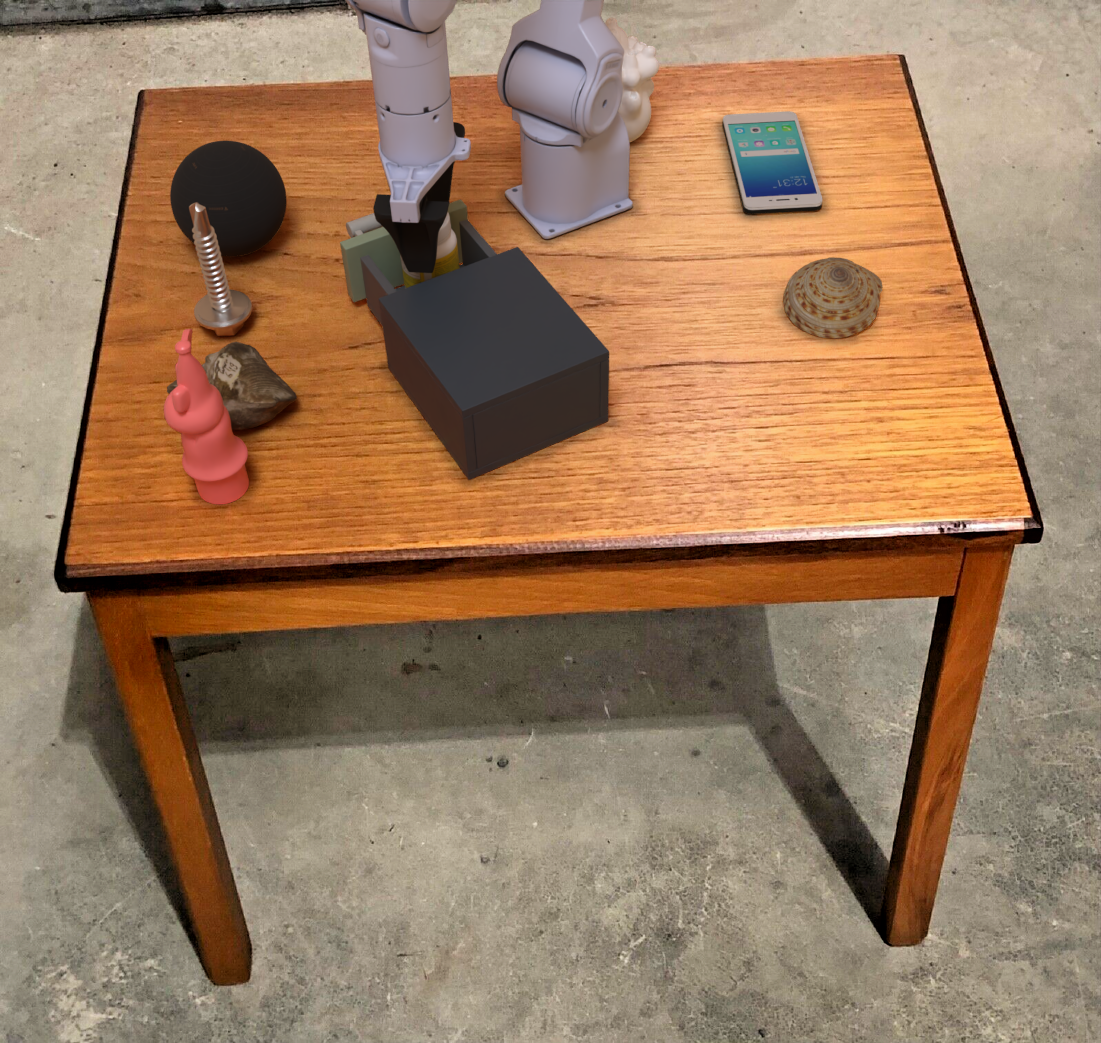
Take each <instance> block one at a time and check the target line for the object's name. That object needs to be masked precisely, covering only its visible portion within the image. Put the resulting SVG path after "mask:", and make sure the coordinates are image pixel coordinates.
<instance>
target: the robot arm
mask: <svg viewBox="0 0 1101 1043" xmlns="http://www.w3.org/2000/svg"><path fill="white" fill-rule="evenodd" d="M345 2H346V4H347V5H348V6H349V7H350V8H351V9H352V10H354V12H355V14H356V18H357V24H358V29H359V30H361V31H362V33H364V35H365V37H366V44H367V50H368V58H369V59H368V60H369V67H370V72H371V73H370V74H371V75H370V76H371V81H372V89H373V96H374V98H373V99H374V105H375V114H376V120H377V129H378V136H379V141H378V146H377V149H378V156H379V160H380V163H381V166H382V170H383V173H384V175H385V179H386V182H387V185H388V188H389V192H390V194H384V193H383V194H380V193H377V194H376V196H375V200H374V203H373V208H372V209H373V213H374V215H375V218H376V221H377V222H378V223H380V224H381V225H382V226H383V227H384V228H385V229H386V230H387V232H388V233H389V234H390V236H391V237H392V239H393V240H394V242H395V244H396V246H397V248H398V250H399V253H400V255H401V258H402V260H403V262H404V264H405V266H406V268H407V270H408V272H416V273H433V270H434V267H435V262H436V256H437V244H438V233H439V230H440V228H441V226H442V225H443V223H444V220H445V218H446V215H447V212H448V207H449V203H451V202H450V199H451V194H452V193H451V191H452V181H453V174H454V167H455V162H456V161H466V160H468V159H469V158H470V155H471V150H472V143H471V139H469V138H467V137H465V135H466V128H465V126H464V125H463V124H462V123H460V122H456V121H454V113H453V100H452V88H451V77H450V65H449V53H448V39H447V38H448V37H447V27H446V21H447V19H448V18H449V16H450V15H451V14H452V13H453V11H454V10H455V7H456V4H457V2H458V0H345ZM604 3H605V0H540V5H539V8H538V9H536V10H535V11H533V12H531V13H529V14H527V15H526V16H525V15H524V16H523V17H522V18H520V19H518V20H517V21H516V22H514V23H513V24H512V26H511V32H510V36H509V40H508V43H507V46H506V49H505V52H504V54H503V55H502V57H501V59H500V62H499V65H498V69H497V73H496V74H497V75H496V87H497V95H498V98H499V100H500V101H501V103H502V105H504V106H506V107H508V108H511V120H512V121H513V122H516V123H517V124H518V125H519V142H520V145H519V146H520V167H521V169H520V170H521V184H518V185H516V186H513V187H510V188H507V189H506V190H505V191H504V196H505V197H506V199H507V200H508V201H509V202H510V203H511V204H512V206H513V207H514V208H515V209H516V210H517V211H518V212H519V213H520V214H521V216H522V217H523V218H524V219H525V220H526V221H527V222H528V223H529V225H531V226H532V227H533V229H534V230H535V231H536V232H537V233H538V234H539V235H540V237H542V239H545V240H550V239H552V238H555V237H559V236H561V235H563V234H566V233H569V232H571V231H574V230H577V229H580V228H582V227H585V226H588V225H590V224H593V223H595V222H598V221H602V220H604V219H606V218H609V217H611V216H615V215H617V214H619V213H620V214H621V213H622V212H625V211H629V210H631V209H632V208H634V207H633V206H634V202H633V200H632V199H630V198H629V196H630V162H631V161H630V158H631V155H630V154H631V144H630V143H631V142H629V137H628V132H627V129H626V126H625V123H624V121H623V119H622V117H621V115H620V113H619V112H618V110H619V108H620V104H621V100H622V95H623V84H622V65H623V57H624V49H623V47H622V46H621V44H620V43H619V41H618V40H617V39H616V37H615V36H614V35H613V33H612V32H611V31H610V29H609V28H608V27H607V25H606V24H605V21H604V19H603V17H602V12H603V9H604Z"/></svg>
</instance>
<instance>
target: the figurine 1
mask: <svg viewBox="0 0 1101 1043" xmlns="http://www.w3.org/2000/svg"><path fill="white" fill-rule="evenodd" d="M193 333H194V332H193V328H185V329H183V331H182V334H181V338H180V340H179V341H177V342H176V343H175V345H174V351H175V353H177V354H178V359H177V362H176V363H175V368H174V369H175V375H176V380H177V387H176V388H175V389H174V390H173V391H172V392H171V393H170V394H168V395H167V397H166V399H165V401H164V404H163V416H164V417H163V418H164V420H165V421H166V423H167V425H168V426H169V428H171V429H172V430H173V431H175V432H178V433H180V439H181V445H182V448H183V453H182V457H181V465H182V468H183V470H184V471H185V474H187V476H189V477H191V478H192V479H193V480H194V483H195V486H196V489H197V492H198V495H199V497H200V498H201V499H202V500H203V501H204V502H207V503H209V504H212V505H227V504H231V503H234V502H235V501H237V500H239V499H240V498H242V497H243V496H244V495H245V494H246V492H247V491H248V489H249V485H250V480H249V475H248V472H247V468H246V462H247V460H248V457H249V451H248V447H247V445H246V443H245V442H244V441H243V440H242V439H241V437H238V435H237V436H236V435H234V432H233V429H232V427H231V420H230V415H229V412H228V410H227V408H226V407H225V406H224V404H223V399H222V396H221V394H220V392H219V391H218V389H217V388H216V387H215V386H213V385H212V384H210V383H209V380H208V377H207V374H206V372H205V370H204V368H203V367H202V365H203V364H202V363H201V362H200V361H199V360H198V359H197V358H196V357H195V356H194V355H193V354H192V344H193V343H192V340H193Z"/></svg>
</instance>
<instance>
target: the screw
mask: <svg viewBox="0 0 1101 1043" xmlns="http://www.w3.org/2000/svg"><path fill="white" fill-rule="evenodd" d="M189 210H190V214H191V218H192V221H193V225H194V227H193V229H192V232H193V233H194V234H193V239H195V241H194V243H193V244H194V246H195V251H196V256H197V257H198V262H199V263H200V264H199V267H200V268H201V273H202V278H203V281H204V285H205V289H206V291H207V292H206V293H207V294H205V295H204V296H202V297H201V298H200V299H199V300H198V301H197V303H196V304H195V305H194V309H193V315H194V318H195V321H196V322H197V324H199V325H200V326H201V327H203V328H205V329H207V330H212V331H213V332H214V333H215V334H216V336H217V337H232V336H235V335H236V334H237V333H238V332H239V331H240V330H241V329H242V328H243V327H244V326H245V325H244V323H246V321H247V320H248V319H249V318H250V316H251V314H252V312H253V303H252V300H251V298H250V297H249V296H248V295H247V294H246V293H244V292H243V291H239V290H236V289H231V288H230V285H229V281H228V279H227V274H226V269H225V267H224V266H225V264H224V262H223V256H221V252H220V251H219V249H220V248H219V245H218V240H217V239H216V238H217V236H216V234H215V232H214V228H213V227H212V226H211V225H210V223H209V220H208V216H207V212H206V208H205V207H204V206H202V205H200V204H199V203H198V202H196V203H193V204H191V205H190V206H189Z"/></svg>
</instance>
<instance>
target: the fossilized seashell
mask: <svg viewBox="0 0 1101 1043" xmlns="http://www.w3.org/2000/svg"><path fill="white" fill-rule="evenodd" d="M204 361H205V362H204V363H203V364H201V365H202V367H203V368H204V370H205V372H206V374H207V377H208V380H209V383H210V384H212V385H213V386H215V387H216V388H217V389H218V391H219V392H220V394H221V396H222V399H223V404H224V406H225V407H226V408H227V410H228V412H229V415H230V420H231V427H232V430H233V431H243V430H247V429H248V430H249V429H253V428H257V427H258V426H261V425H264V424H266V423H268V422H270V421H272V420H274V419H275V418H276V416H277V415H278V414H280V413H282V411H284V410H285V409H286V408H287V407H288V406H290V405H291V404H292V403H294V402H295V401H297V399H298V397H297V396H298V395H297V393H296V391H294V389H292V388H291V387H290V385H289V384H288V383H287V382H286V381H285V380H284V379H282V377H281V376H279V375H278V374H277V373H276V372H275V371H274V370H273V369H272V368H271V367H270V366H269V364H268V363H267V361H266V360H265V359H264V357H263V356H262V355H261V353H260V351H258V349H256V347H254V346H252V345H250V344H247V343H243V342H240V341H233V342H230V343H228V344H226V345H225V346H223V347H222V348H221V349H219V350H218V351H216V352H213V353H209V354H207V355H206V356H205V358H204ZM176 387H177V379H175V380H174V381H173V382H171V383H170V384H169V385H168V386H167V387H166V392H167V394H168V395H169V394H170V393H171V392H172V391H173V390H174V389H175V388H176Z"/></svg>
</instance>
